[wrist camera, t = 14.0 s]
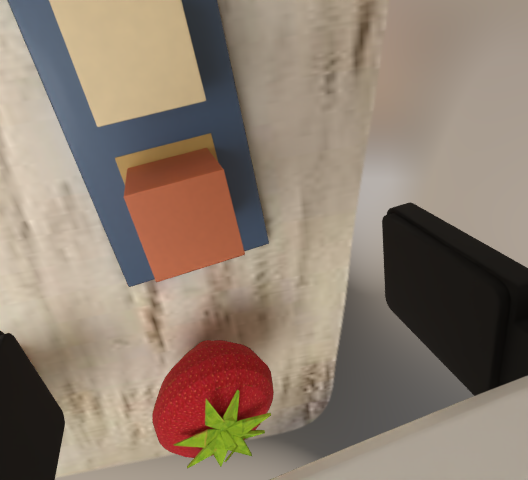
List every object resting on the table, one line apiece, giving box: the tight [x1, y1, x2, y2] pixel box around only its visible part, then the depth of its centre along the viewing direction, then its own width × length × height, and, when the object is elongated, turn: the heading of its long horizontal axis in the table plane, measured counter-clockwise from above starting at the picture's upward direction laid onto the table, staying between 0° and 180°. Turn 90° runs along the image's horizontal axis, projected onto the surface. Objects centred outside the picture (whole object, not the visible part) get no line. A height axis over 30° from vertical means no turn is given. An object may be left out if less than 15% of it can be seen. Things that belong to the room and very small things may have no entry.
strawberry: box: [153, 340, 273, 468], centre depth 24 cm, size 6×8×10 cm
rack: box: [8, 0, 269, 287], centre depth 18 cm, size 22×9×6 cm, turn 13°
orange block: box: [124, 148, 245, 282], centre depth 20 cm, size 4×4×5 cm
